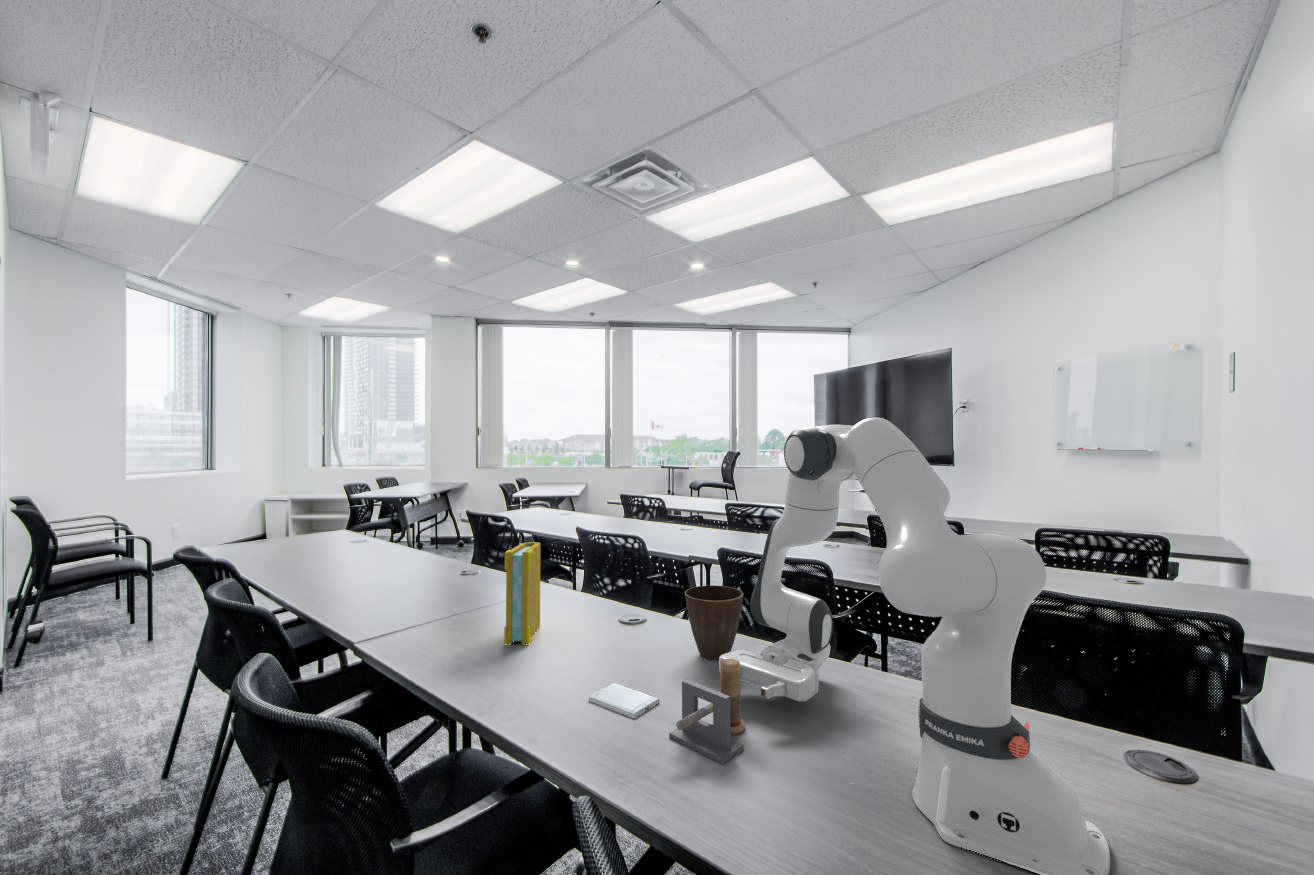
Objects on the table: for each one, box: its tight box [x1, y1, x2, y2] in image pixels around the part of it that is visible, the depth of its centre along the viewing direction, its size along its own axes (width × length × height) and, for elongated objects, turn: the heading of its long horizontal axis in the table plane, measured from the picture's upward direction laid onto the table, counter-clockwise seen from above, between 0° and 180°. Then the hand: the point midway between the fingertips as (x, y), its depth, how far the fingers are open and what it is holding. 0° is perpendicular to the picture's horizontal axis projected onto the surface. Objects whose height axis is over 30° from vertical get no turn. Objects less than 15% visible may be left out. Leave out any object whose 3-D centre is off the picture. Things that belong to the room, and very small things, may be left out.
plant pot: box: [684, 585, 744, 662], centre depth 133 cm, size 15×15×16 cm
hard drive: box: [588, 682, 661, 719], centre depth 108 cm, size 2×8×12 cm
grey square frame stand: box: [668, 679, 745, 765], centre depth 92 cm, size 12×6×10 cm, turn 46°
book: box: [503, 541, 541, 646], centre depth 149 cm, size 17×7×25 cm, turn 179°
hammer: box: [675, 659, 746, 736], centre depth 93 cm, size 5×17×12 cm, turn 136°
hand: (743, 685), depth 100 cm, fingers open, 8 cm apart
